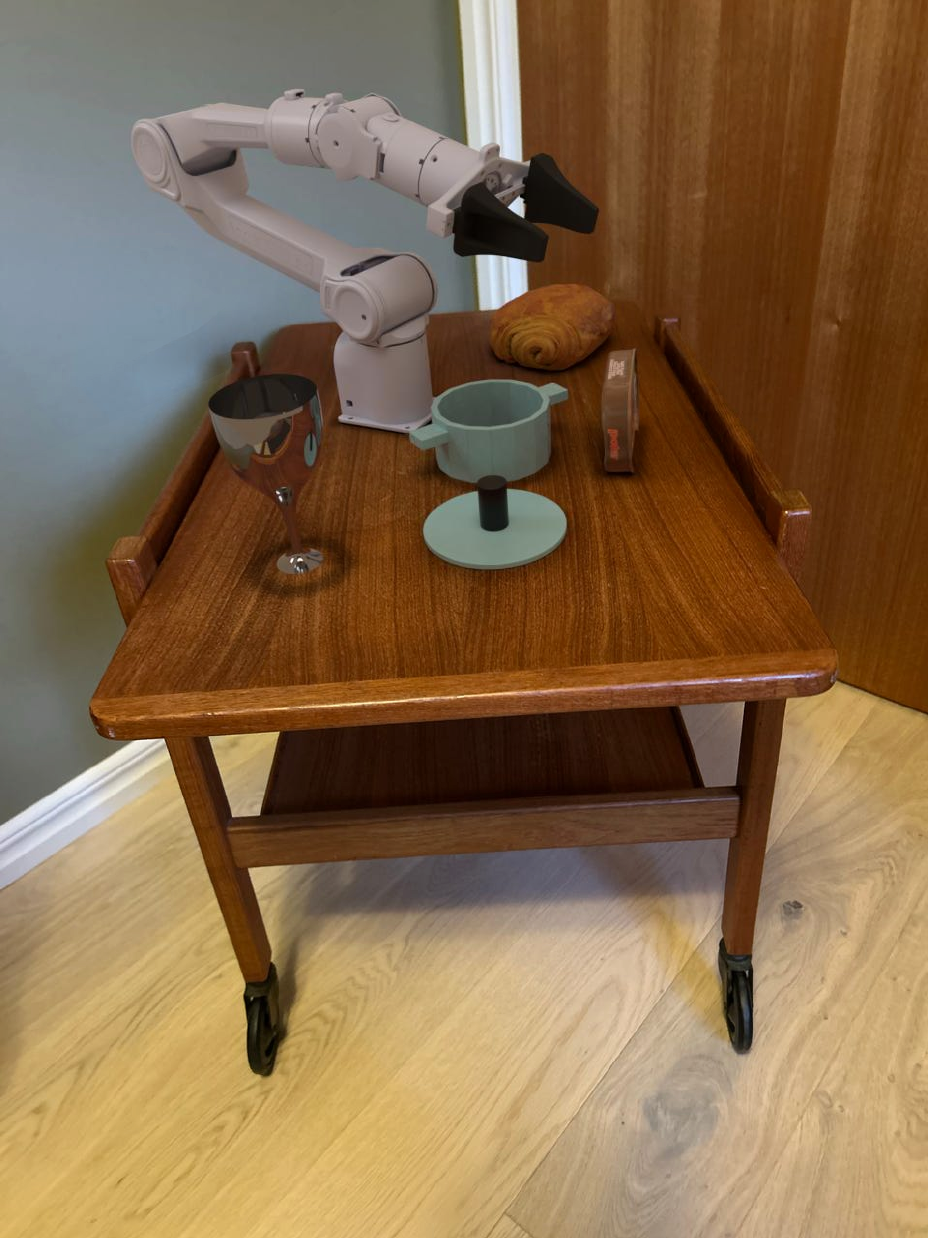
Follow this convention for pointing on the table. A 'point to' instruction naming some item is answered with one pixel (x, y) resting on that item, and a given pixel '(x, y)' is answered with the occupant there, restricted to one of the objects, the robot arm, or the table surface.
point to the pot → (491, 429)
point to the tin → (620, 409)
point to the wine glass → (273, 445)
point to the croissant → (552, 326)
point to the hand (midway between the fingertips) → (570, 234)
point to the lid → (494, 527)
